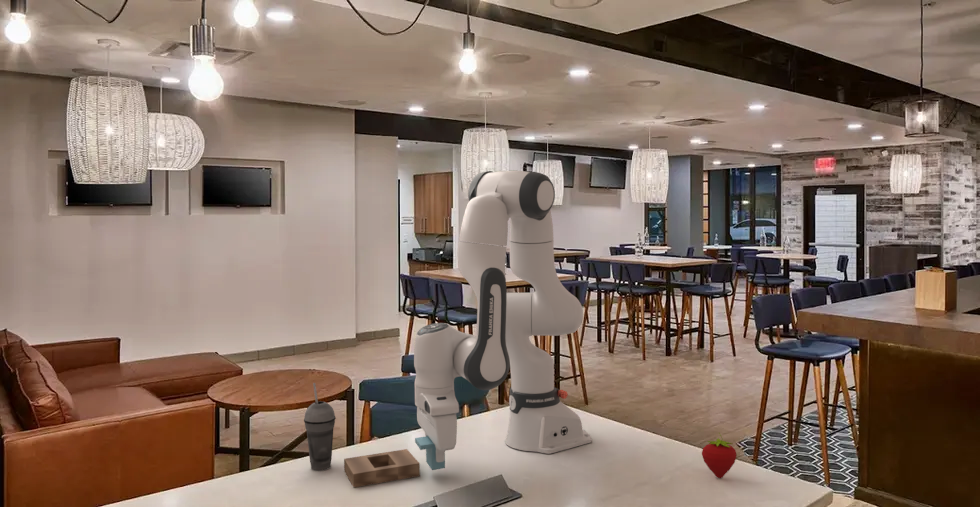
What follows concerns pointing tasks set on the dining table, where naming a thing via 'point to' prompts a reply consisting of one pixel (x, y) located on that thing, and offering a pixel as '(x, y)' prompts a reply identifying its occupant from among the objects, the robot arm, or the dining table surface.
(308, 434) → the beverage cup
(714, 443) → the strawberry
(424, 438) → the bracket
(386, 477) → the well block
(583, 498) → the dining table surface
